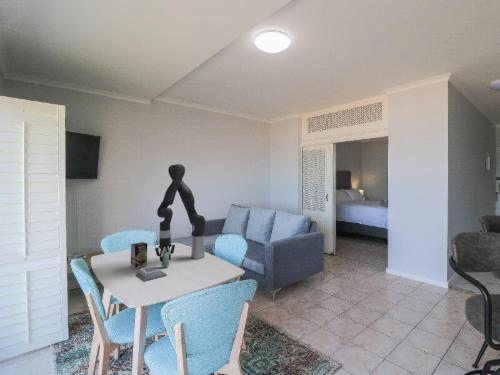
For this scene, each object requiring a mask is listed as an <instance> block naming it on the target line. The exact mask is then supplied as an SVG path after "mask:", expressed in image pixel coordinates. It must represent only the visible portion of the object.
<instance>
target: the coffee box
mask: <svg viewBox="0 0 500 375" xmlns="http://www.w3.org/2000/svg"><path fill="white" fill-rule="evenodd" d="M146 267H148V243H147V242H142V241H141V242H136V243H132V244H130V268H131V269H134V270H138V269H141V268H146Z"/></svg>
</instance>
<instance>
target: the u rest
mask: <svg viewBox="0 0 500 375" xmlns="http://www.w3.org/2000/svg"><path fill="white" fill-rule="evenodd" d="M167 275H168V274H167V273H166V272H164V271H162V270H161V269H159V268H155V266H154V265H150V266H146V267H142V268H139V272H136V273H135V276H136V277H138V278H139V279H141V280H142V281H143V282H149V281H152V280H156V279H160V278H164V277H167Z"/></svg>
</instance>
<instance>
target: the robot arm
mask: <svg viewBox="0 0 500 375" xmlns="http://www.w3.org/2000/svg"><path fill="white" fill-rule="evenodd" d="M167 170H168V172H167V173H168V174H169V177H170V179H171V183H170V184H169V186H168V187H167V189H166V190H165V192H164V196H163V200H162V201H161V203H160V205H159V206H158V208H157V210H156V215H157V217H158V218H163V221H160V222H159V233H158V234H159V235H158V236H159V238H158V239H159V241H158V243H159V245H158V246H157V247H155V248H154V251H155V254H156V256H157V257H159V261H160V263H162V262H163V257H162V256H163V253H164V252H165V249H167V251H168V252H169V261H171V258H172V254H174V252H175V249H176V248H175V247H176V244H172V237H171V236H172V234H171V232H172V231H171V223H172V219H173V215H174V214H173V213H174V212H173V209H172V208H170V207H169V206H172V205H173V204H174V201H175V199H176V195H177V192H178V194H179V197H180V199H181V202H182V204H183V206H184V209H185V212H186V213H187V217H188V221H189V223H190V225H191V226H192V227H194V230H193V231H192V232H191V255H190V256H191V259H193V260H200V259H204V258H205V253H206V252H205V251H206V249H205V246H206V245H205V244H204V242H205V240H204V238H205V236H204V235H205V232H206V219H205V217H204V215H201V214H198V212H197V210H196V208H195V197H194V195H193V192H192V190H191V188H190V187H189V186H188V185H187V184H186V183H185V181H183V178H184V176H185V174H186V167H185V166H184V165H183V164H181V163H177V164H170V165H169V166H168V169H167Z"/></svg>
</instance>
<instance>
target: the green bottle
mask: <svg viewBox="0 0 500 375" xmlns="http://www.w3.org/2000/svg"><path fill="white" fill-rule="evenodd" d="M162 257H163V262H161V266H162V267H167V266H170V260H169V252H168V251H167V249H165V252H164V253H163V256H162Z"/></svg>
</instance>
